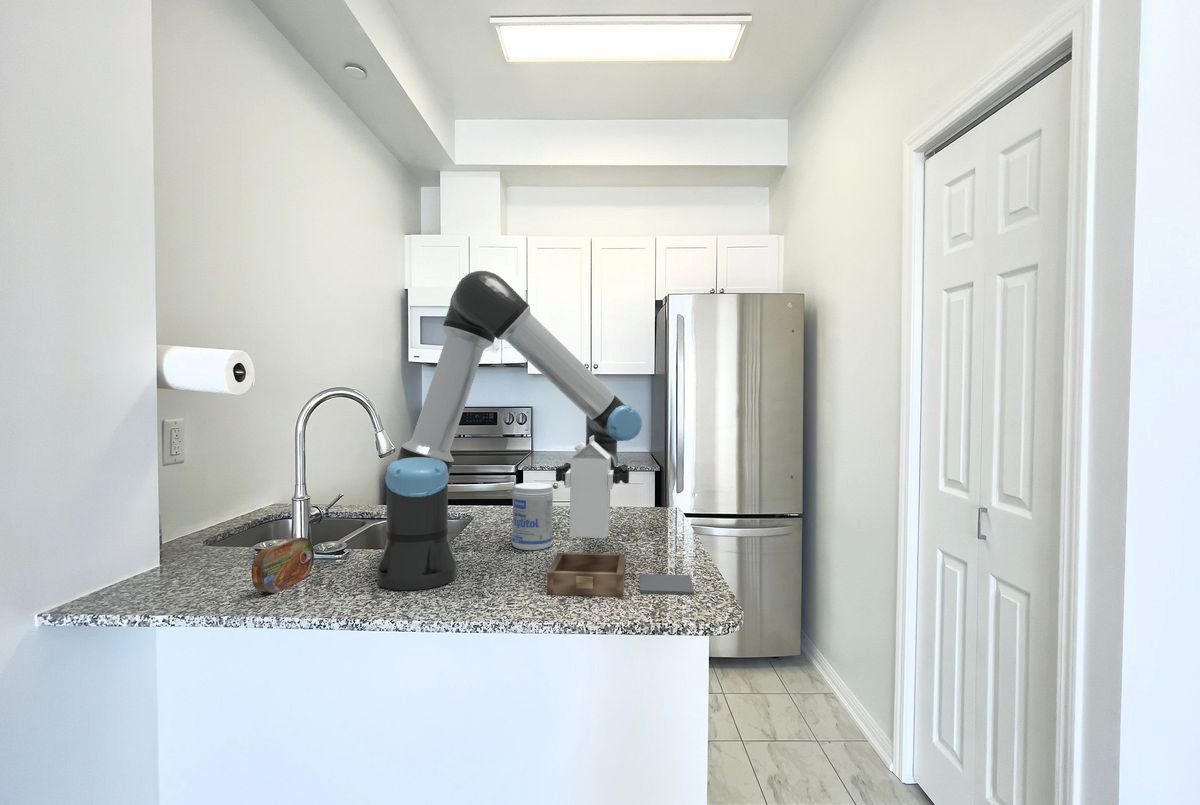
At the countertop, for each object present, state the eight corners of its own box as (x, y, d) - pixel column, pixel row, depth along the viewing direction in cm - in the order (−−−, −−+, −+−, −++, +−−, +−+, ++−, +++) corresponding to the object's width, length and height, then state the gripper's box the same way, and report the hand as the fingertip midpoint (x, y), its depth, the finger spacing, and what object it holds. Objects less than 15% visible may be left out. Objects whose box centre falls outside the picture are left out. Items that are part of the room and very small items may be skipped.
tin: (263, 599, 108) (263, 552, 108) (247, 598, 109) (247, 551, 109) (315, 574, 123) (315, 533, 123) (301, 573, 124) (301, 532, 123)
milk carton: (609, 530, 121) (611, 435, 121) (606, 539, 114) (608, 438, 113) (574, 529, 121) (576, 434, 121) (569, 537, 114) (570, 437, 114)
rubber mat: (639, 593, 112) (639, 590, 112) (640, 576, 122) (640, 573, 122) (694, 594, 111) (694, 591, 111) (690, 578, 121) (690, 575, 121)
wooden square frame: (546, 595, 111) (546, 573, 111) (557, 571, 125) (557, 552, 125) (622, 597, 110) (623, 575, 110) (625, 573, 124) (625, 554, 124)
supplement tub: (508, 551, 141) (508, 488, 141) (515, 541, 151) (516, 482, 150) (550, 551, 141) (550, 488, 141) (554, 541, 150) (554, 482, 150)
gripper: (642, 484, 135) (642, 502, 112) (553, 481, 136) (534, 499, 113) (643, 450, 135) (643, 462, 112) (553, 448, 136) (535, 459, 113)
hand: (588, 481), depth 113 cm, fingers closed on milk carton, 7 cm apart
